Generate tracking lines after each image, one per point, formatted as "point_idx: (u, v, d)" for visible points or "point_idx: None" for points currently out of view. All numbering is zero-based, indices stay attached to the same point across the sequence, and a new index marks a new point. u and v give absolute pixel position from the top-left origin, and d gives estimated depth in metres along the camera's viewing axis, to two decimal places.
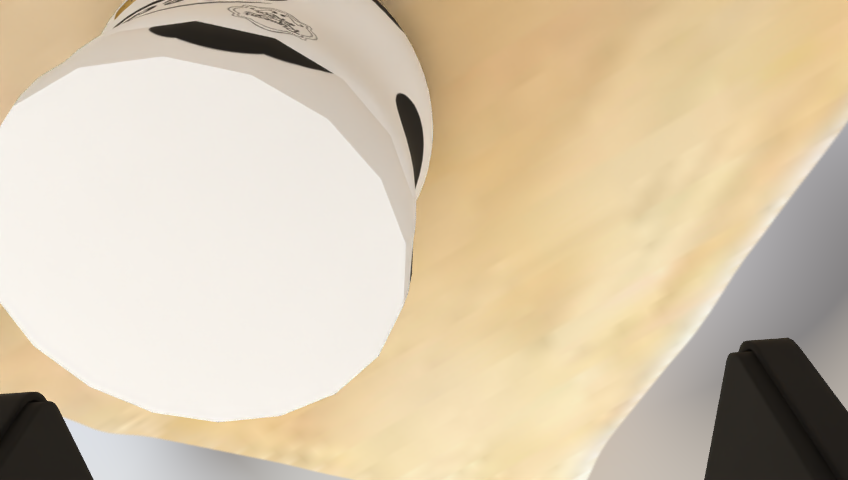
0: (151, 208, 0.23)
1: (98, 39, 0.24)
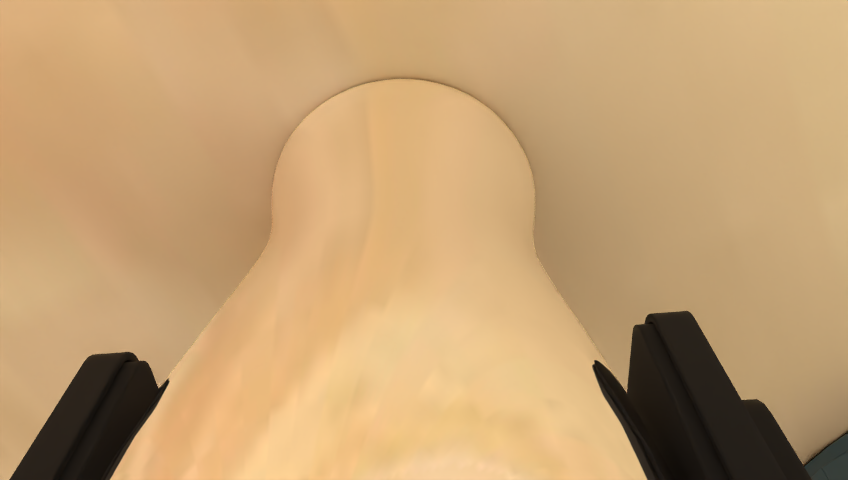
0: None
1: None
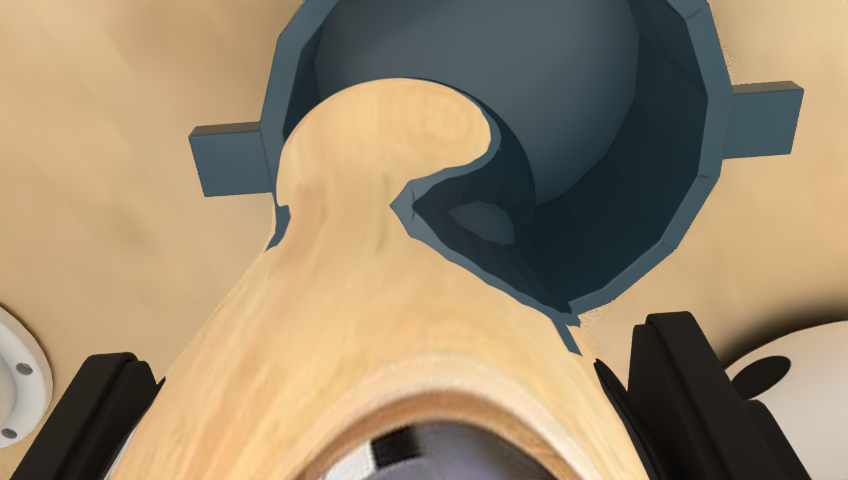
0: None
1: None
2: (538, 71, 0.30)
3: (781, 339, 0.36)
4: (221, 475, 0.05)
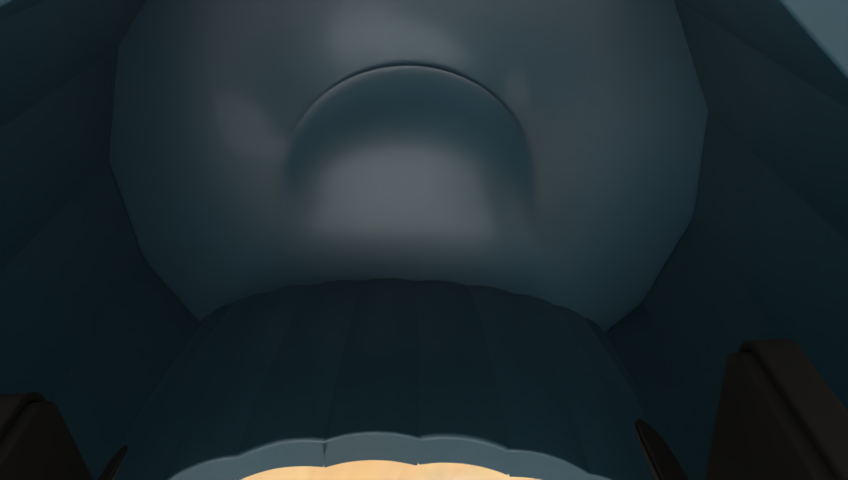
0: None
1: None
2: None
3: None
4: (250, 411, 0.06)
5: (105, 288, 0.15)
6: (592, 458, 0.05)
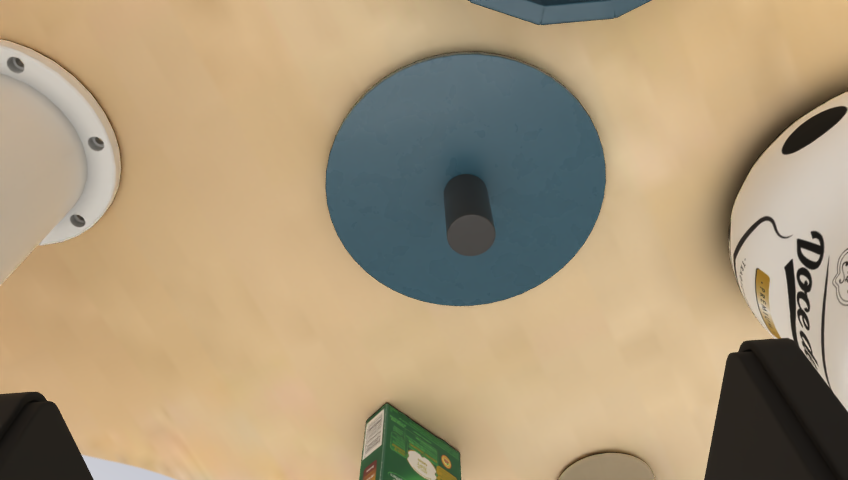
0: None
1: (844, 397, 0.32)
2: None
3: (835, 98, 0.37)
4: None
5: None
6: None
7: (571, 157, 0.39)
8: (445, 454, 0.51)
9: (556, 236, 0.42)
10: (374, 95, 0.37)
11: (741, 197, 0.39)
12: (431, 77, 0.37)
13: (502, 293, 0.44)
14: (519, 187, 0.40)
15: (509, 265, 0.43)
